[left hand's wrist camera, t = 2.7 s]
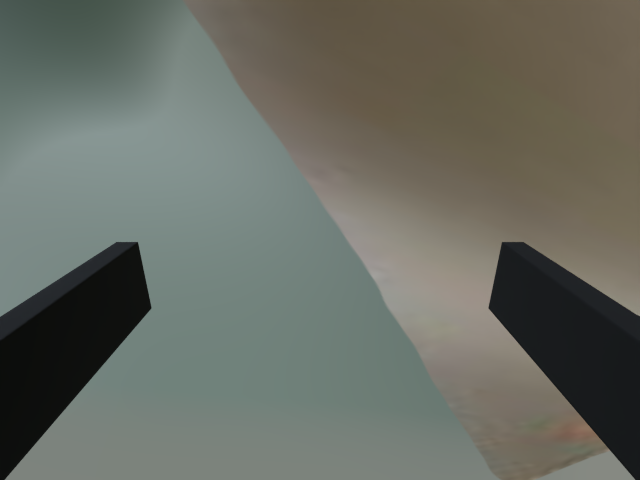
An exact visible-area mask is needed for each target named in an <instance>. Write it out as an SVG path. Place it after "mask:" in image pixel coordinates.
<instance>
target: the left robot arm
mask: <svg viewBox="0 0 640 480" xmlns="http://www.w3.org/2000/svg"><path fill="white" fill-rule="evenodd" d="M150 309H151V304H150V299H149V294H148V289H147V284H146V279H145V275H144V270H143V265H142V260H141V255H140V250H139V245H138V242H116V243H115V244H113V245H111V246H110V247H108V248H107V249H105V250H104V251H102V252H101V253H99V254H97V255H96V256H94V257H93V258H91V259H90V260H88V261H87V262H85V263H83V264H82V265H80V266H79V267H77V268H76V269H74V270H73V271H71V272H69V273H68V274H66V275H65V276H63V277H62V278H60V279H59V280H57V281H55V282H54V283H52V284H51V285H49V286H48V287H46V288H45V289H43V290H41V291H40V292H38V293H37V294H35V295H34V296H32V297H31V298H29V299H27V300H26V301H24V302H23V303H21V304H20V305H18V306H17V307H15V308H13V309H12V310H10V311H9V312H7V313H6V314H4V315H3V316H1V317H0V480H5V479H6V477H7V476H8V475H9V474H10V473H11V472H12V470H13V469H14V468H15V467H16V466H17V464H18V463H19V462H20V461H21V460H22V459H23V458H24V456H25V455H26V454H27V453H28V452H29V451H30V449H31V448H32V447H33V446H34V445H35V443H36V442H37V441H38V440H39V439H40V438H41V437H42V435H43V434H44V433H45V432H46V431H47V430H48V428H49V427H50V426H51V425H52V424H53V423H54V421H55V420H56V419H57V418H58V417H59V416H60V414H61V413H62V412H63V411H64V410H65V409H66V407H67V406H68V405H69V404H70V403H71V401H72V400H73V399H74V398H75V397H76V396H77V395H78V393H79V392H80V391H81V390H82V389H83V387H84V386H85V385H86V384H87V383H88V382H89V381H90V379H91V378H92V377H93V376H94V375H95V374H96V372H97V371H98V370H99V369H100V368H101V366H102V365H103V364H104V363H105V362H106V361H107V359H108V358H109V357H110V356H111V355H112V354H113V352H114V351H115V350H116V349H117V348H118V347H119V345H120V344H121V343H122V342H123V341H124V340H125V338H126V337H127V336H128V335H129V334H130V333H131V331H132V330H133V329H134V328H135V327H136V326H137V324H138V323H139V322H140V321H141V320H142V319H143V317H144V316H145V315H146V314H147V313H148V312H149V310H150ZM489 309H490V310H491V312H492V313H493V314H494V315H495V316H496V317H497V319H498V320H499V321H500V322H501V323H502V324H503V326H504V327H505V328H506V329H507V330H508V331H509V333H510V334H511V335H512V336H513V337H514V338H515V340H516V341H517V342H518V343H519V344H520V345H521V347H522V348H523V349H524V350H525V351H526V352H527V354H528V355H529V356H530V357H531V358H532V359H533V361H534V362H535V363H536V364H537V365H538V367H539V368H540V369H541V370H542V371H543V372H544V374H545V375H546V376H547V377H548V378H549V379H550V381H551V382H552V383H553V384H554V385H555V386H556V388H557V389H558V390H559V391H560V392H561V393H562V395H563V396H564V397H565V398H566V399H567V400H568V402H569V403H570V404H571V405H572V406H573V407H574V409H575V410H576V411H577V412H578V413H579V414H580V416H581V417H582V418H583V419H584V420H585V421H586V423H587V424H588V425H589V426H590V427H591V428H592V430H593V431H594V432H595V433H596V434H597V435H598V437H599V438H600V439H601V440H602V441H603V442H604V444H605V445H606V446H607V447H608V448H609V449H610V451H611V452H612V453H613V454H614V455H615V456H616V458H617V459H618V460H619V461H620V462H621V463H622V464H623V466H624V467H625V468H626V469H627V470H628V472H629V473H630V474H631V475H632V476H633V477H634V479H635V480H640V316H638V315H636V314H634V313H633V312H631V311H630V310H628V309H627V308H625V307H623V306H622V305H620V304H619V303H617V302H616V301H614V300H613V299H611V298H609V297H608V296H606V295H605V294H603V293H602V292H600V291H599V290H597V289H595V288H594V287H592V286H591V285H589V284H588V283H586V282H585V281H583V280H581V279H580V278H578V277H577V276H575V275H574V274H572V273H571V272H569V271H567V270H566V269H564V268H563V267H561V266H560V265H558V264H557V263H555V262H553V261H552V260H550V259H549V258H547V257H546V256H544V255H543V254H541V253H539V252H538V251H536V250H535V249H533V248H532V247H530V246H529V245H527V244H525V243H524V242H502V245H501V250H500V255H499V260H498V265H497V270H496V274H495V279H494V284H493V289H492V294H491V299H490V304H489Z"/></svg>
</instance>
